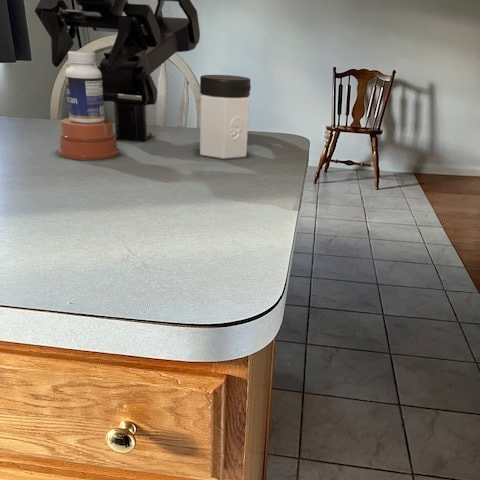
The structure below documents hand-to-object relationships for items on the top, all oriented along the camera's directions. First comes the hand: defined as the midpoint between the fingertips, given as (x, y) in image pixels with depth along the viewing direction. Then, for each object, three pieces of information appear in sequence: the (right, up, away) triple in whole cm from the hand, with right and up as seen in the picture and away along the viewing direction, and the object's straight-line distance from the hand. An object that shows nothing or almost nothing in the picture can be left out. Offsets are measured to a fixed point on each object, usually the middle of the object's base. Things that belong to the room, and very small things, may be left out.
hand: (81, 67), depth 81 cm
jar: (+21, -10, +12) cm, 26 cm away
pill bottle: (0, -7, +4) cm, 8 cm away
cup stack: (-1, -11, +6) cm, 13 cm away
